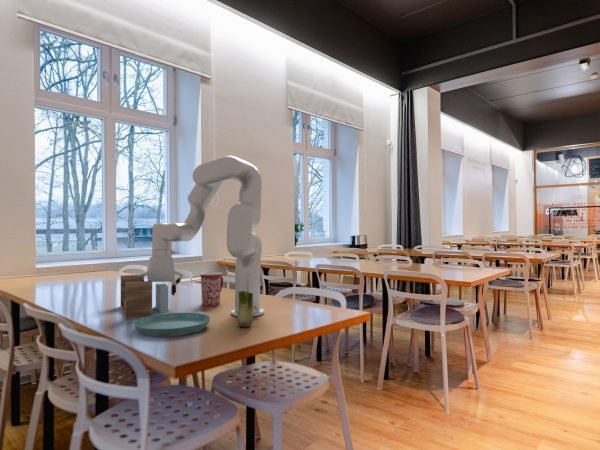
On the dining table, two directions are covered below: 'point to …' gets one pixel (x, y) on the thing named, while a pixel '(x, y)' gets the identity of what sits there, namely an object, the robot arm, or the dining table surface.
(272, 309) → the dining table surface
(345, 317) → the dining table surface
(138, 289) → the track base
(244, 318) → the fennel bulb
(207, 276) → the mug
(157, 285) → the door panel
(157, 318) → the teal plate
